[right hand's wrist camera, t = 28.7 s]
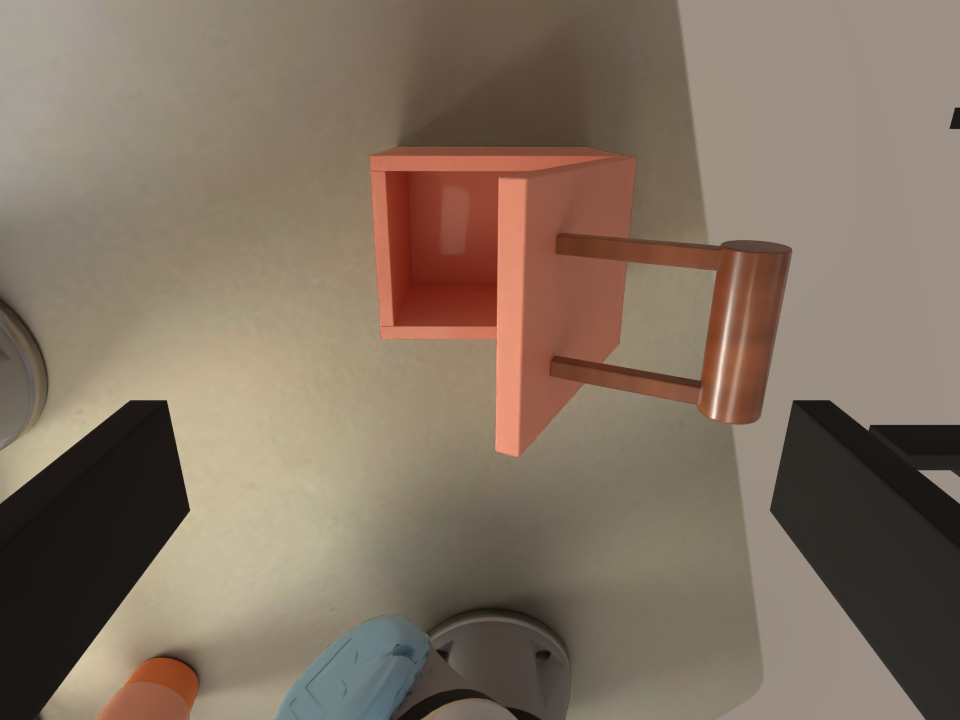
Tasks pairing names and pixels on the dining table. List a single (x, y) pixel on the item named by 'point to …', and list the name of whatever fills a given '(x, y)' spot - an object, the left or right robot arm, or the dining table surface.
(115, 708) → the cup with straw
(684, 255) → the lid
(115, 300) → the dining table surface
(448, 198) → the chest
